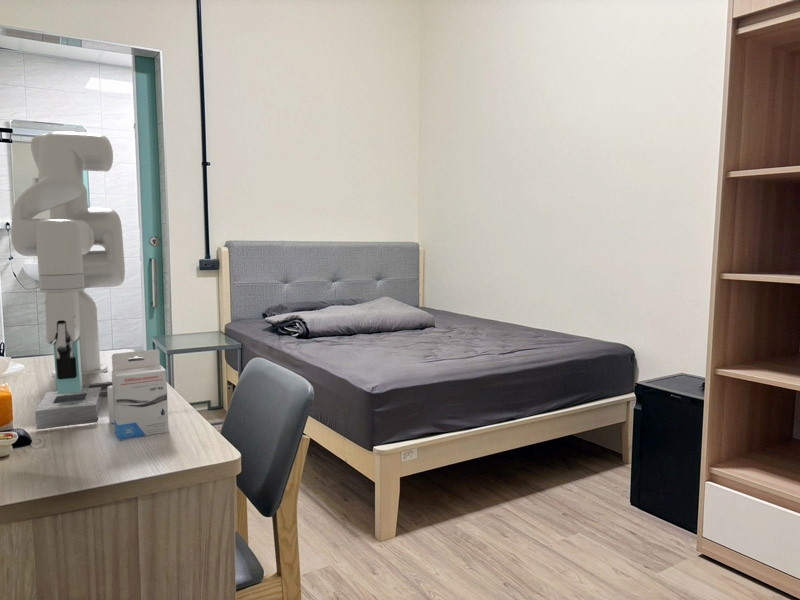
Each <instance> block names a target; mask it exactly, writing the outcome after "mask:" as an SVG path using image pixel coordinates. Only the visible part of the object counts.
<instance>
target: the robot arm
mask: <svg viewBox="0 0 800 600" xmlns="http://www.w3.org/2000/svg"><path fill="white" fill-rule="evenodd" d="M30 149H31V154H32V157H33V161H34V162H35V166H36V167H37V169H38V181H37V182H35V183H33V184H32V185H30V186H29V187H27V189H25V191H23V192H22V193H21V194H20V196H18V198H17V199H16V200H15V202H14V205H13V207H12V212H11V225H10V236H11V237H10V238H11V243H12V247H13V249H14V251H15V252H16V253H17V254H18V255H21V256H24V257H36V258H37V267H38V269H37V270H38V280H39V282H38V283H39V292H40V293H43V294H44V293H45V300H44V301H45V304H44V305H45V333H46V343H47V344H48V345H52V344H54V342H55V341H56V352H57V359H56V363H57V377H58V379H70V378H76V376H77V372H76V358H75V357H74V352H73V342H75V341H76V340H77V339H79V343H80V358H81V372H82V376H84V375H93V374H103V373H106V372H107V371H108V366H107V365H106V364H102V363H101V357H100V356H101V355H100V353H101V352H100V342H99V341H100V339H99V338H100V337H99V324H98V310H97V309H98V308H97V305H96V302H95V300H94V299H93V298H92V297H91V296H90V295H89V294H87V292H86V291H85V289H90V288H91V289H93V288H95V289H96V288H113V287H114V288H116V287H119V286H121V285H122V284H123V283H124V281H125V276H126V269H125V267H126V265H125V251H124V242H123V241H124V238H123V228H122V221H121V219H120V216H119V213H117V211H116V210H114V209H112V208H108V207H107V208H106V207H104V208H103V207H90V206H89V205H88V204H89V203H88V189H87V187H86V185H85V184H84V171H86V172H87V171H88V172H106V173H107V172H109V171H110V170H111V168H112V166H113V162H114V153H113V152H114V151H113V150H114V149H113V147H112V144H111V141H110V140H109V138H108V137H107V136H105V135H103V134H100V133H92V132H91V133H90V132H88V133H87V132H78V131H77V132H76V131H52V132H48V133H41V134H38V135H35V136H34V137H32V139H31V141H30ZM45 211H49V218H34V217H35V216H37V215H39V214H41V213H43V212H45ZM94 246H100V247H102V248H104V250H91V249H92V248H93V247H94ZM66 339H70V342H66ZM67 345H69V346H67ZM69 347H70V348H69ZM51 377H52V378H56V372H55V369H54V370H52V371H51Z"/></svg>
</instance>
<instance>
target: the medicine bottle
mask: <svg viewBox="0 0 800 600" xmlns="http://www.w3.org/2000/svg"><path fill="white" fill-rule="evenodd" d="M144 359H145V357H136V358H135V357H134V358H129V359H128V361H129V362H130V361H140V360H144ZM107 394H108V396H107V407H108V408H107V409H108V410H107V411H108V420H109V423H111V424H114V425H115V423H114V404H113V387H112V386H108V387H107Z"/></svg>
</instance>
